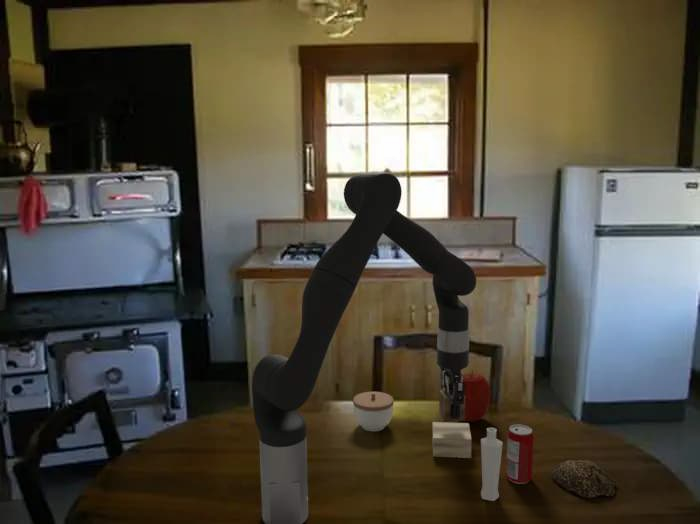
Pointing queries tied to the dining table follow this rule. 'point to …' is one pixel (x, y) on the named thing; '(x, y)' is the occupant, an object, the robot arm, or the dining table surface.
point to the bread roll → (584, 479)
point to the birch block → (451, 440)
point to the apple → (476, 396)
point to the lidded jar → (373, 410)
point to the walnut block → (445, 407)
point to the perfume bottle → (490, 464)
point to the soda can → (519, 454)
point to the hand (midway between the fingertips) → (451, 413)
